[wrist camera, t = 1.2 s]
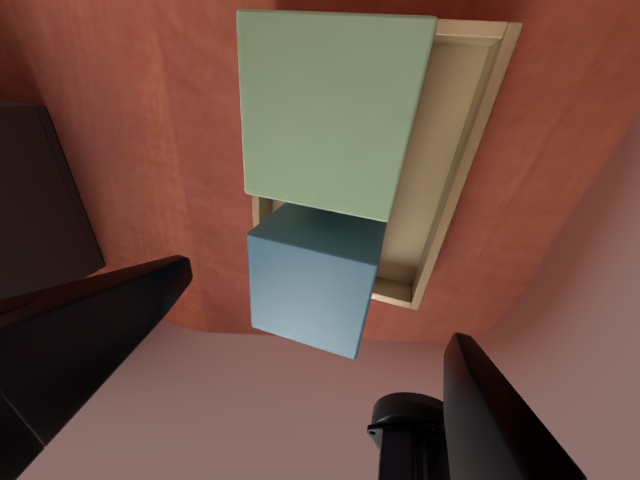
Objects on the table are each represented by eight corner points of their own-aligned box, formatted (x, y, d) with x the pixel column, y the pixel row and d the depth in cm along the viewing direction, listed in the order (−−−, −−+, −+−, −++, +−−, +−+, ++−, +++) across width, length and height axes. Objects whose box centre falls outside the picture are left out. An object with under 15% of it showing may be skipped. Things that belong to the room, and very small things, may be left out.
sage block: (424, 60, 10) (440, 14, 4) (398, 170, 12) (389, 224, 6) (319, 53, 10) (233, 7, 5) (312, 156, 12) (243, 194, 7)
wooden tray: (503, 36, 9) (524, 21, 7) (417, 286, 14) (417, 311, 13) (270, 24, 11) (244, 10, 9) (270, 250, 16) (253, 267, 15)
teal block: (392, 196, 12) (379, 264, 7) (375, 267, 14) (355, 361, 9) (310, 181, 13) (245, 232, 8) (304, 250, 15) (250, 327, 10)
